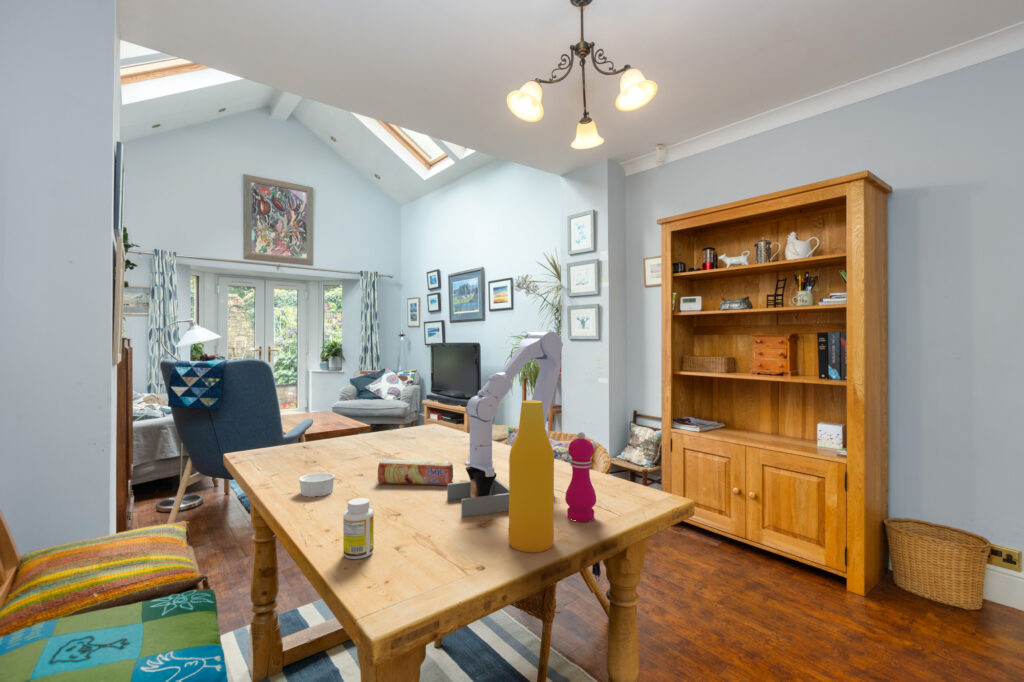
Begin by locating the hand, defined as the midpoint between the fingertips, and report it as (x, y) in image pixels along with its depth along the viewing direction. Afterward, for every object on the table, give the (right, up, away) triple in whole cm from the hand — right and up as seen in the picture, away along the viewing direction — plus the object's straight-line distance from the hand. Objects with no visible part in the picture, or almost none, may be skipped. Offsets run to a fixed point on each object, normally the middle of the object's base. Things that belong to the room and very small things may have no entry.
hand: (480, 497), depth 122 cm
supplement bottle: (-22, -2, -29) cm, 36 cm away
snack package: (-20, -2, +18) cm, 27 cm away
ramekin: (-45, -2, +8) cm, 46 cm away
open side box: (0, -2, 0) cm, 2 cm away
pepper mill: (+24, -2, -8) cm, 26 cm away
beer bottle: (+12, -2, -23) cm, 26 cm away
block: (0, -2, 0) cm, 2 cm away
